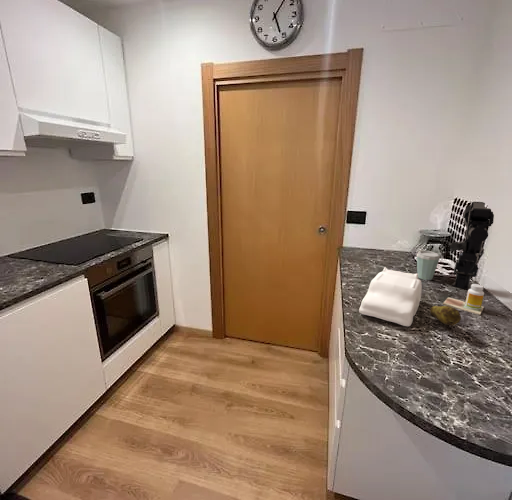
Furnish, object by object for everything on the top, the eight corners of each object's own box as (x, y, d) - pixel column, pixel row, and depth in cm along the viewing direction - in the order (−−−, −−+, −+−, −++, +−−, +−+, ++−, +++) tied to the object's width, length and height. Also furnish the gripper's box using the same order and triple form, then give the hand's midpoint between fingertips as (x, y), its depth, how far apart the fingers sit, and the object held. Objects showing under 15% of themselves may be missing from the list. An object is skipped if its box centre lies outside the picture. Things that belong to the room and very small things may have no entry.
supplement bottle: (483, 310, 117) (488, 288, 115) (468, 309, 118) (473, 287, 116) (476, 304, 122) (481, 283, 120) (462, 303, 123) (466, 282, 121)
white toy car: (421, 301, 127) (426, 272, 124) (410, 330, 104) (416, 296, 100) (376, 290, 138) (379, 264, 135) (356, 315, 115) (360, 283, 111)
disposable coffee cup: (439, 280, 151) (444, 253, 147) (429, 285, 145) (434, 256, 141) (419, 274, 159) (423, 248, 155) (408, 278, 153) (413, 251, 149)
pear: (452, 317, 112) (456, 299, 110) (460, 334, 101) (465, 313, 99) (427, 313, 116) (431, 295, 113) (433, 329, 104) (437, 309, 102)
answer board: (447, 298, 130) (448, 296, 130) (483, 307, 121) (483, 306, 121) (442, 304, 124) (442, 303, 124) (480, 314, 115) (480, 313, 115)
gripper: (458, 231, 135) (451, 263, 139) (448, 237, 122) (441, 272, 126) (487, 235, 128) (480, 268, 132) (480, 242, 115) (472, 278, 119)
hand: (468, 271), depth 127 cm, fingers open, 9 cm apart
